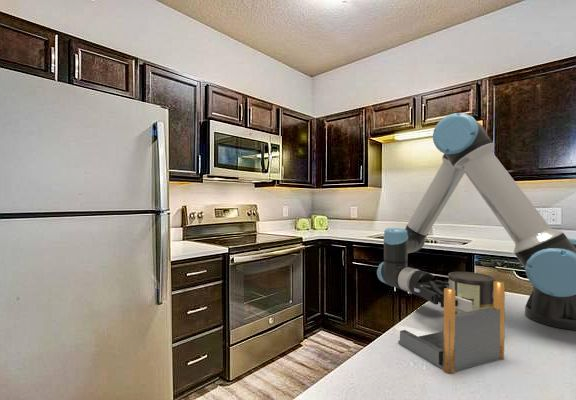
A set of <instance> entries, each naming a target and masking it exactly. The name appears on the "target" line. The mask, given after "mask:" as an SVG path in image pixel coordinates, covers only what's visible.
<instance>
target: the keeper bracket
mask: <svg viewBox="0 0 576 400" xmlns="http://www.w3.org/2000/svg"><path fill="white" fill-rule="evenodd" d="M505 285H506V284H505V282H504V281H498V280H495V281H494V282H493V307H491V308H485V309H480V310H474V311H469V312H464V313H458V314H455V289H451V288H444V307H443V317H442V318H443V320H442V321H443V322H442V323H443V324H442V325H443V326H442V327H443V331H437V332H433V333H428V334H424V335H419V336H417V335H415V334H414V333H412V332H410V331H408V330H406V329H403V330H402V329H401V330H399V340H398V344H399V345H401V346H402V347H404V348H406V349H407V350H408V351H411V352H412V353H414V354H416V355H417V356H419V357H421V358H422V359H424V360H426V361H427V362H429V363H431V364H432V365H434V366H436V367H438V368H439V369H441V370H443V372H444V373H446V374H452V375H453V374H455V373H457V372H460V371H464V370H467V369H471V368H474V367H477V366H481V365H485V364H489V363H491V362H495V361H499V360H501V361H502V360H504V359H505V324H506V323H505V314H506V311H505V310H506V309H505V308H506V307H505V301H506V299H505V298H506V296H505V293H506V292H505V290H506V289H505Z"/></svg>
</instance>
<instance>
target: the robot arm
mask: <svg viewBox="0 0 576 400" xmlns="http://www.w3.org/2000/svg"><path fill="white" fill-rule="evenodd" d="M487 133H488V132H487V131H486V129H485V127H484V126H483V125H482V124H480V123H479V122H478V121H477V120H476V118H474V117H473V116H472V115H470V114H466V113H463V112H455V113H451V114H448V115H445V117H443V118H441V120H439V121H438V122H437V124H436V125H435V127H434V129H433V133H432V141H433V144H434V147H436V149H437V150H438V151H439V152H440V153H443V155H442V157H441V159H442V163H441V165H440V167H439V168H438V170H437V172H436V174H435V175H434V176H433V179H432V181H431V183H430V185H429V186H428V187H427V189H426V192H425V193H424V194H423V196H422V198H421V200H420V202H419V204H418V205H417V207H416V208H415V210H414V212H413V214H412V215H411V218H410V219H409V220H408V223H407V224H406V226H405V228H400V227H388V228H385V230H384V232H383V261H382V262H381V263H380V264H378V268H377V269H376V275H377V279H378V280H379V281H380V282H382V283H384V284H386V285H387V286H389V287H394V288H397V289H399V290H401V291H404V292H407V293H408V294H409V295H412V294H413V295H415V296H417V297H420V298H423V299H425V300H426V301H428V302H430V303H431V304H433V305H436V306H437V305H439V304H440V307H441V308H444V288H449V280H446V281H442V280H439V279H435V276H434V275H433V274H432V273H430V272H427V271H424V270H420V269H416V268H413V267H409V266H408V258H409V257H408V254H411V253H416V252H418V251H420V250H421V249H423V248H424V246H425V243H426V238H427V236H428V234H429V232H430V231H431V229H433V226H434V224H435V223H436V221H437V220H438V217H439V216H440V215H441V213H442V211H443V209H444V208H445V207H446V204H447V203H448V201H449V200H450V198H451V197H452V195H453V193H454V192H455V190H456V188H457V187H458V185H459V183H460V182H461V180H462V179H463V177H464V175H466V177H467V179H469V181H470V182H471V184H472V185H473V186H474V188H475V189H476V190H477V192H478V193H479V195H480V196H481V197H482V199H483V200H484V202H485V203H486V205H487V206H488V207H489V208H490V210H491V211H492V213H493V214H494V216H495V217H496V219H497V220H498V221H499V223H500V224H501V226H502V227H503V228H504V230H505V231H506V233H507V234H508V236H509V237H510V238H511V240H512V241H513V242H514V244H515V245H514V250H513V253H514V255H515V257H516V258H517V259H518V261H519V262H520V264H521V265H522V267H523V268H524V269H525V270H524V271H525V275H526V276H527V277H526V278H527V280H528V281H529V282H530V284H531V285H532V290H531V292H530V294H529V297H528V298H527V301H526V303H525V307H524V315H525V316H526V317H527V318H528V319H531V320H532V321H535V322H537V323H540V324H542V325H546V326H549V327H553V328H558V329H564V330H570V331H576V238H568V237H567V235H566V234H565V233H564V231H562V230H558V229H554V228H552V227H550V225H549V224H548V223H547V221H546V220H545V218H544V217H543V216H542V214H541V213H540V212H539V211H538V210H537V208H536V206H534V204H533V203H532V202H531V200H530V199H529V198H528V197H527V195H526V194H525V193H524V191H523V189H521V187H520V186H519V185H518V183H517V182H516V181H515V180H514V178H513V177H512V176H511V175H510V173H509V172H508V170H507V169H506V168H505V167H504V165H503V164H502V163H501V161H500V159H498V157H497V156H496V155H495V153H494V148H495V143H494V142H493V140H492V139H491V137H489V135H488V134H487ZM455 308H457V309H460V310H463V311H465V312H469V311H472V301H469V300H466V299H463V298H460V297H457V296H455Z"/></svg>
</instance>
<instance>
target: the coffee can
mask: <svg viewBox="0 0 576 400" xmlns="http://www.w3.org/2000/svg"><path fill="white" fill-rule="evenodd" d="M447 276H448V281H449V288H451V289H455V296H457V297H460V298H463V299H466V300H469V301H472V311H474V310H480V309H485V308H491V307H493V282H494V281H496V278H495V277H494V276H492V275H489V274H485V273H479V272H472V271H471V272H470V271H452V272H449V273H448V275H447ZM464 312H465V311H463V310H460V309H457V308H455V314H458V313H464Z"/></svg>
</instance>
